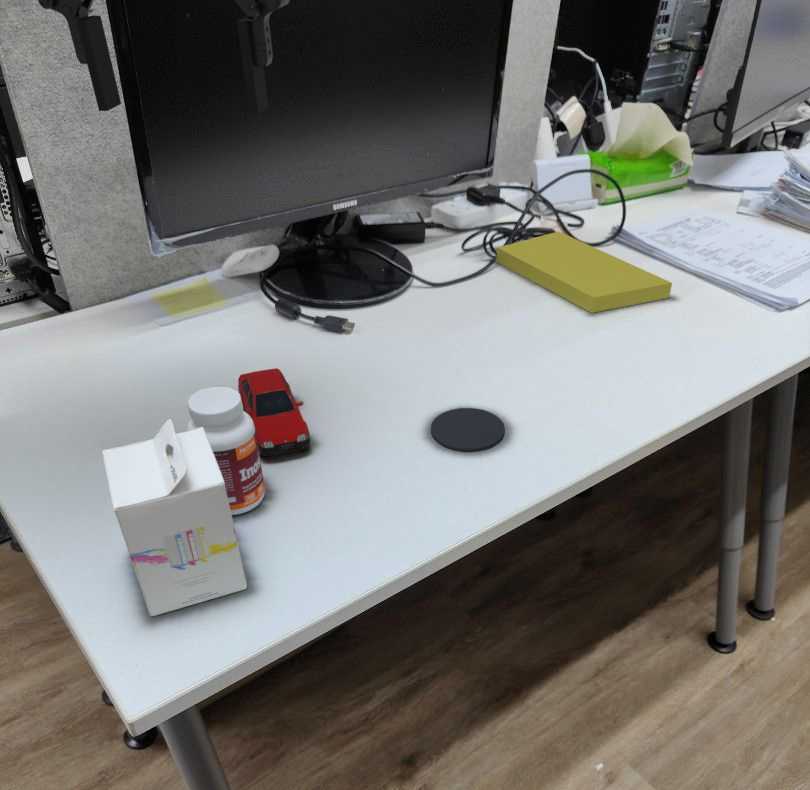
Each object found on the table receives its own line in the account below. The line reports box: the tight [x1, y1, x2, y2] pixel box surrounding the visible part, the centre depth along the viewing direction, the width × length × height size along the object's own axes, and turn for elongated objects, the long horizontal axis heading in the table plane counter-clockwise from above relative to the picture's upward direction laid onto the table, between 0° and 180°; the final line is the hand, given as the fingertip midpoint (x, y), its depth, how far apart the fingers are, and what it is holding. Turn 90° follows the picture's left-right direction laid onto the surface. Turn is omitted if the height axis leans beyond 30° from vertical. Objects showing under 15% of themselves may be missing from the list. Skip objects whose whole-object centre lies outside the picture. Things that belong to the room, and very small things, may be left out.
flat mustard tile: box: [495, 231, 673, 314], centre depth 111 cm, size 12×2×24 cm
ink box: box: [101, 418, 248, 617], centre depth 62 cm, size 9×8×13 cm
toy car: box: [237, 367, 311, 457], centre depth 83 cm, size 6×14×5 cm, turn 19°
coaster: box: [430, 407, 506, 453], centre depth 83 cm, size 8×8×1 cm
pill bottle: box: [185, 386, 266, 516], centre depth 71 cm, size 6×6×11 cm
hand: (183, 109), depth 66 cm, fingers open, 13 cm apart
